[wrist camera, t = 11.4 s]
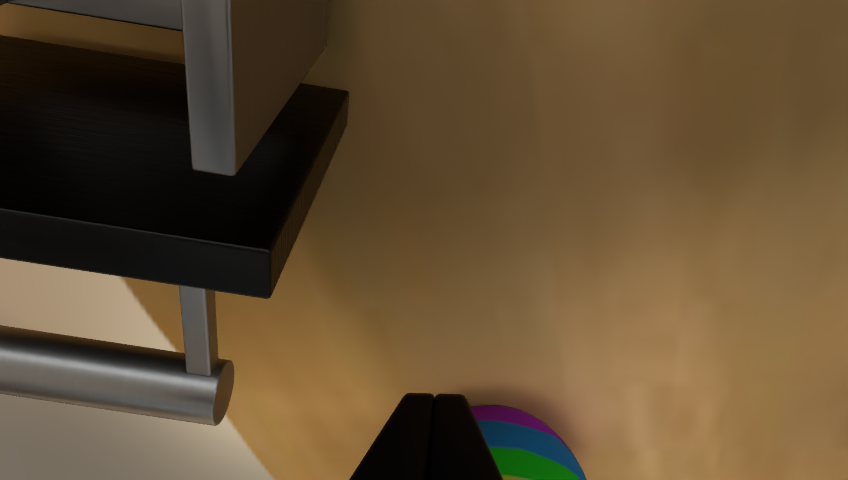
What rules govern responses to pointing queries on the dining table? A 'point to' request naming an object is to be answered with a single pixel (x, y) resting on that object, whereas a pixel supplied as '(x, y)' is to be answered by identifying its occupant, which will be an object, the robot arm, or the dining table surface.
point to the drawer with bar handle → (161, 184)
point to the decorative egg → (525, 446)
